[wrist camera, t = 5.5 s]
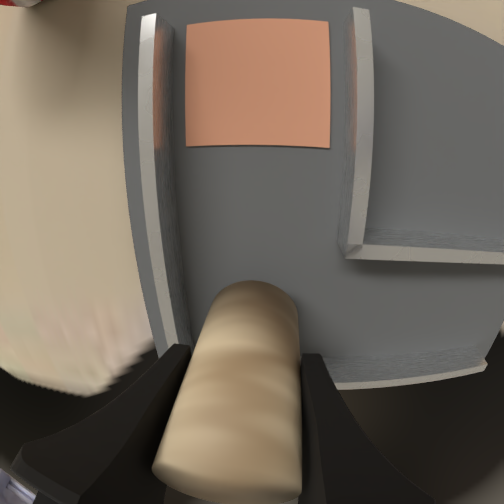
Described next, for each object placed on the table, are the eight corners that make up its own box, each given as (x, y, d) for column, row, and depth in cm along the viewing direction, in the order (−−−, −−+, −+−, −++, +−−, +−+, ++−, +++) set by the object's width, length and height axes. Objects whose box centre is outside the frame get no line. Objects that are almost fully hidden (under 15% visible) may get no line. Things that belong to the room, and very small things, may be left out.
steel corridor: (529, 90, 7) (551, 91, 5) (472, 351, 14) (483, 370, 12) (161, 30, 9) (141, 16, 7) (185, 355, 16) (176, 379, 14)
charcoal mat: (535, 72, 7) (544, 72, 6) (475, 360, 16) (479, 368, 15) (135, 10, 9) (126, 5, 8) (166, 363, 18) (162, 372, 17)
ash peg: (313, 299, 12) (331, 479, 5) (277, 359, 14) (266, 510, 6) (225, 266, 12) (158, 442, 5) (201, 333, 13) (147, 482, 6)
